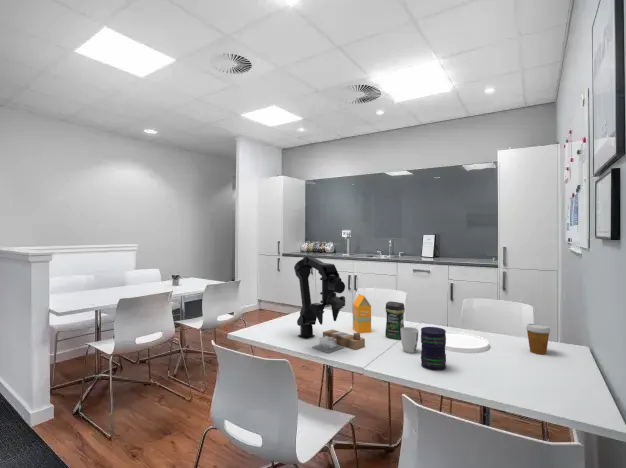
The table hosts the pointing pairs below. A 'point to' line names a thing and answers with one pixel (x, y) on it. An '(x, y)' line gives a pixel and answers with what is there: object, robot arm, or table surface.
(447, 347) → the plate
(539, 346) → the disposable coffee cup
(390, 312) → the coffee jar
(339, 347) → the rubber mat
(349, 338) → the hand plane
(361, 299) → the orange juice
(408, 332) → the cup
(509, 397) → the table surface
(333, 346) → the lever cap
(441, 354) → the storage jar
